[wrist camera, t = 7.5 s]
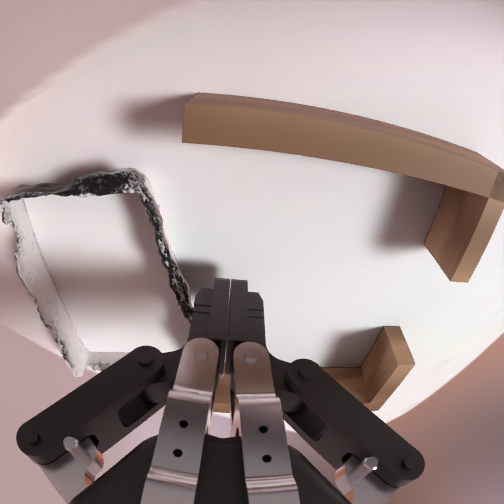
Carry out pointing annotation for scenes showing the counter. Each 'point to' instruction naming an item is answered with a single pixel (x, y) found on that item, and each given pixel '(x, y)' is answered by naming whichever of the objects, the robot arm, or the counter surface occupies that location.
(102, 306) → the counter surface
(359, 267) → the counter surface
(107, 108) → the counter surface
